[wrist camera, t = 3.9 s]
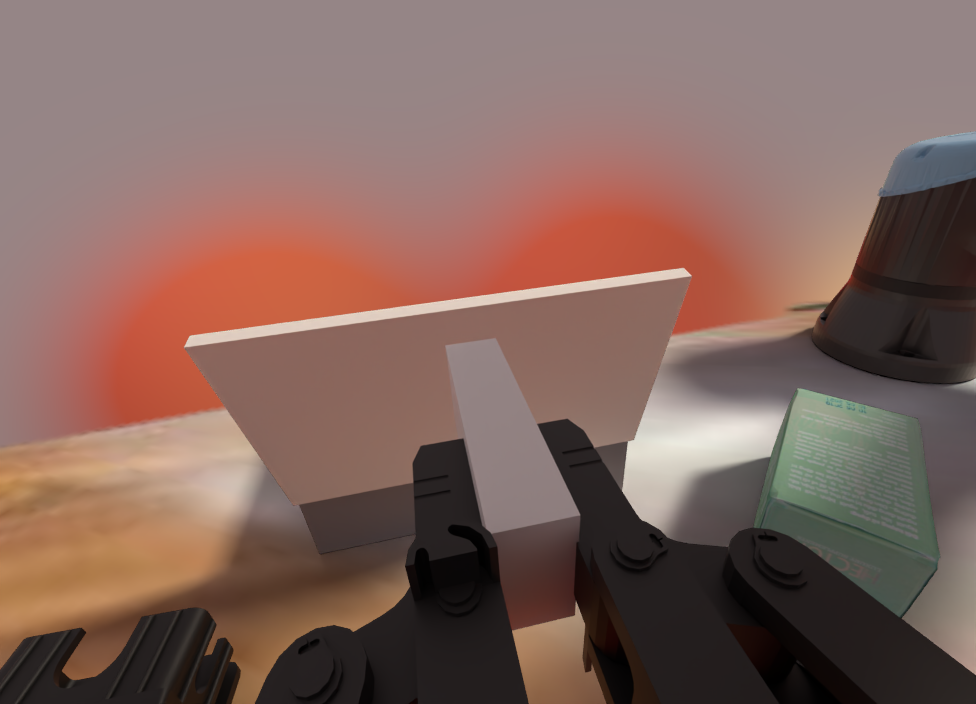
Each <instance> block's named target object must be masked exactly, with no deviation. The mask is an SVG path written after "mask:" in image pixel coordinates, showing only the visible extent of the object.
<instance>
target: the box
mask: <svg viewBox="0 0 976 704" xmlns="http://www.w3.org/2000/svg"><path fill="white" fill-rule="evenodd" d="M753 528H763V529H771V530H774V531H777V532H780V533H783V534H785V535H788V536H790V537H792V538H793V539H795V540H797V541H798V542H800V543H802V544H803V545H805V546H807V547H808V548H809V549H811V550H812V551H813V552H814V553H816V554H817V555H818V556H820V557H821V558H822V559H824V560H825V561H826V562H828V563H829V564H830V565H832V566H833V567H834V568H835V569H837V570H838V571H839V572H841V573H842V574H843V575H845V576H846V577H847V578H849V579H850V580H851V581H853V582H854V583H855V584H856V585H858V586H859V587H860V588H862V589H863V590H864V591H866V592H867V593H868V594H870V595H871V596H872V597H874V598H875V599H876V600H877V601H879V602H880V603H881V604H883V605H884V606H885V607H887V608H888V609H889V610H891V611H892V612H893V613H895V614H896V615H897V616H899V617H900V618H902V617H903V616H904V614H905V613H906V612H907V611H908V609H909V608H910V607H911V605H912V604H913V602H914V601H915V600H916V598H917V597H918V596H919V594H920V593H921V592H922V590H923V589H924V587H925V586H926V585H927V583H928V582H929V580H930V579H931V578H932V576H933V575H934V573H935V572H936V570H937V564H938V560H939V558H940V553H939V549H938V544H937V538H936V533H935V527H934V521H933V515H932V508H931V502H930V495H929V487H928V480H927V473H926V465H925V458H924V449H923V441H922V434H921V429H920V425H919V422H918V419H917V418H913V417H910V416H906V415H902V414H898V413H894V412H890V411H886V410H883V409H879V408H875V407H871V406H867V405H863V404H860V403H856V402H852V401H848V400H844V399H840V398H836V397H833V396H829V395H825V394H821V393H817V392H813V391H810V390H806V389H800V388H797V390H796V392H795V394H794V396H793V398H792V400H791V402H790V404H789V407H788V409H787V412H786V414H785V417H784V420H783V422H782V425H781V428H780V430H779V433H778V436H777V439H776V442H775V445H774V448H773V451H772V454H771V458H770V462H769V466H768V470H767V474H766V478H765V482H764V486H763V490H762V494H761V498H760V502H759V506H758V510H757V513H756V517H755V522H754V526H753Z"/></svg>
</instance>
